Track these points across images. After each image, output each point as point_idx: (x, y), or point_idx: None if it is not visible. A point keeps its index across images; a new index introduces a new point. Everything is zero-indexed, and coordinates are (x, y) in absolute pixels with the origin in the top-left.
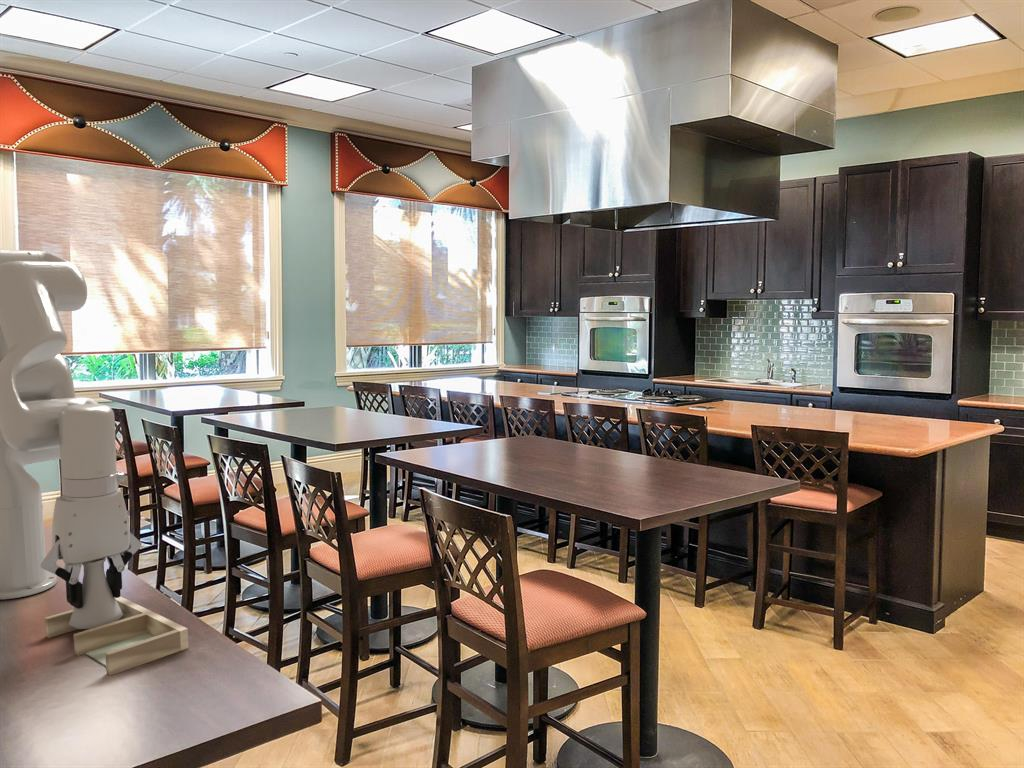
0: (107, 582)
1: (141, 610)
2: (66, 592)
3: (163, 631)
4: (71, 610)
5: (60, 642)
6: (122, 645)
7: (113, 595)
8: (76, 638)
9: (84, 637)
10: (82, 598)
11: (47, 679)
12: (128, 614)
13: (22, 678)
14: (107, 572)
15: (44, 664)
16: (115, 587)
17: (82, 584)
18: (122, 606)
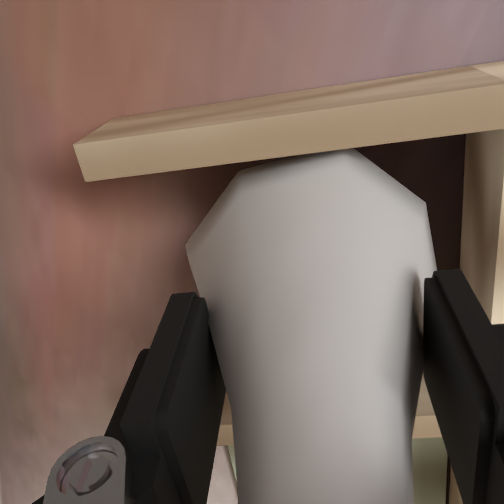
0: (412, 432)
1: None
2: (126, 390)
3: (461, 499)
4: (223, 131)
5: (160, 232)
6: None
7: (424, 358)
8: None
9: None
10: (217, 429)
11: None
12: (477, 254)
13: (27, 419)
14: (473, 424)
15: (88, 376)
16: (442, 430)
17: (233, 420)
18: (492, 206)
